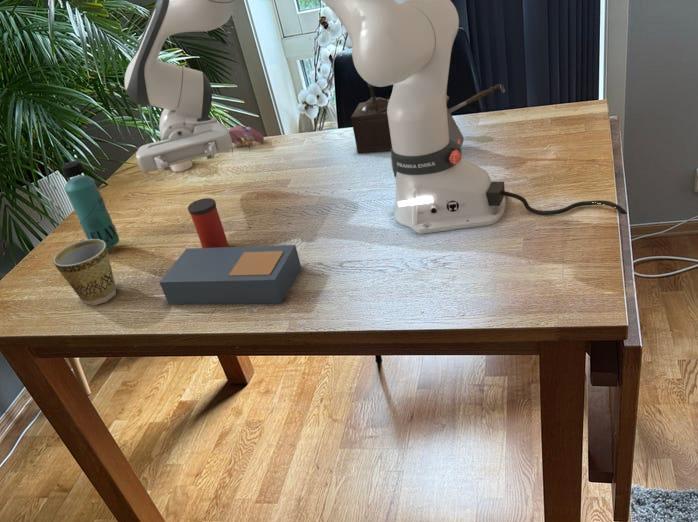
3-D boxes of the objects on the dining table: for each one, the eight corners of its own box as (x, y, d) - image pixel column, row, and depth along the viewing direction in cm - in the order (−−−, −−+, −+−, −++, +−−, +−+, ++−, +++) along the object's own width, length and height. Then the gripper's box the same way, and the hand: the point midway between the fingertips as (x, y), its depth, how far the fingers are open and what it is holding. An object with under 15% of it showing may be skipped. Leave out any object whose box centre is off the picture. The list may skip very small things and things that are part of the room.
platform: (301, 267, 133) (295, 243, 130) (281, 303, 125) (274, 278, 121) (194, 270, 140) (185, 247, 137) (168, 304, 131) (158, 281, 128)
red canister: (234, 245, 145) (219, 197, 139) (224, 259, 141) (208, 210, 134) (211, 246, 147) (194, 198, 140) (200, 260, 143) (183, 211, 136)
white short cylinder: (188, 171, 183) (180, 145, 179) (165, 173, 185) (156, 148, 180) (198, 160, 188) (190, 135, 184) (175, 162, 190) (167, 137, 186)
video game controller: (230, 151, 194) (218, 134, 188) (236, 138, 195) (223, 120, 189) (261, 151, 190) (249, 133, 184) (266, 138, 191) (255, 120, 185)
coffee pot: (411, 164, 162) (403, 100, 153) (421, 145, 171) (413, 82, 162) (504, 160, 156) (501, 92, 147) (509, 139, 164) (507, 74, 155)
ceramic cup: (125, 300, 135) (105, 255, 129) (74, 316, 133) (51, 271, 127) (124, 270, 145) (105, 227, 139) (76, 284, 143) (55, 241, 137)
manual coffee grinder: (400, 150, 170) (389, 75, 159) (356, 154, 173) (343, 80, 162) (409, 126, 182) (400, 54, 171) (368, 130, 185) (357, 59, 174)
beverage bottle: (96, 260, 151) (56, 173, 138) (91, 249, 155) (51, 164, 143) (125, 249, 152) (88, 163, 140) (120, 239, 157) (83, 154, 145)
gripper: (130, 138, 151) (132, 159, 141) (222, 114, 154) (230, 133, 143) (140, 165, 155) (143, 188, 144) (230, 142, 158) (239, 162, 147)
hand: (187, 161), depth 144 cm, fingers open, 8 cm apart
